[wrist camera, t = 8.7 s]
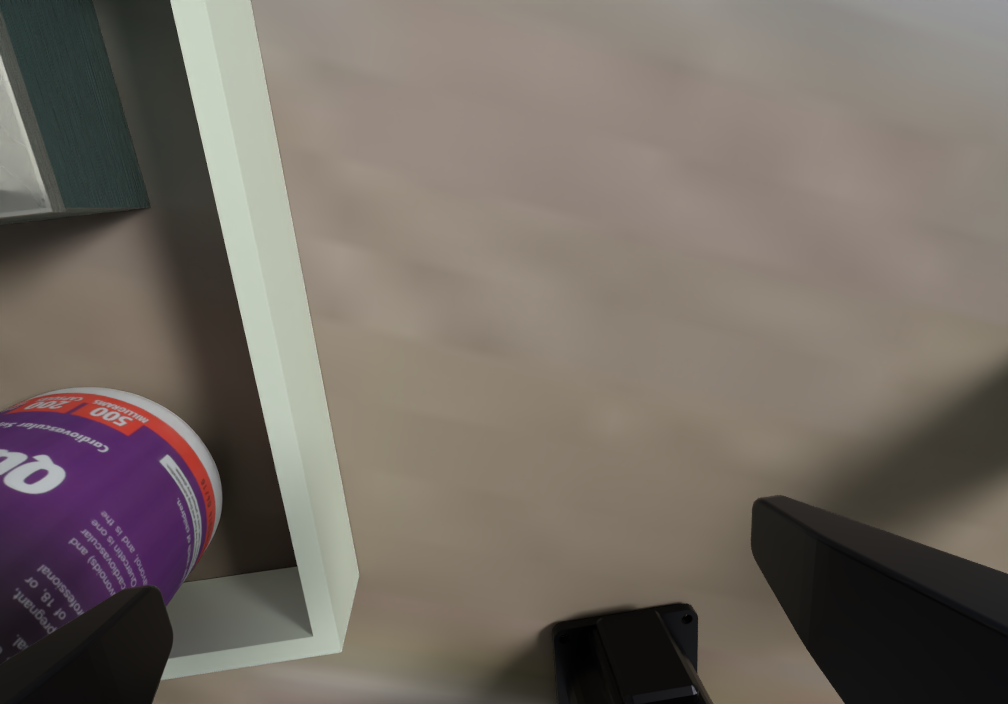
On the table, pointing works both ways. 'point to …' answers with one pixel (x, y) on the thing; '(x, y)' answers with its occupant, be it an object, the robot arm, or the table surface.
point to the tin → (61, 117)
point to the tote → (264, 372)
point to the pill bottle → (96, 506)
